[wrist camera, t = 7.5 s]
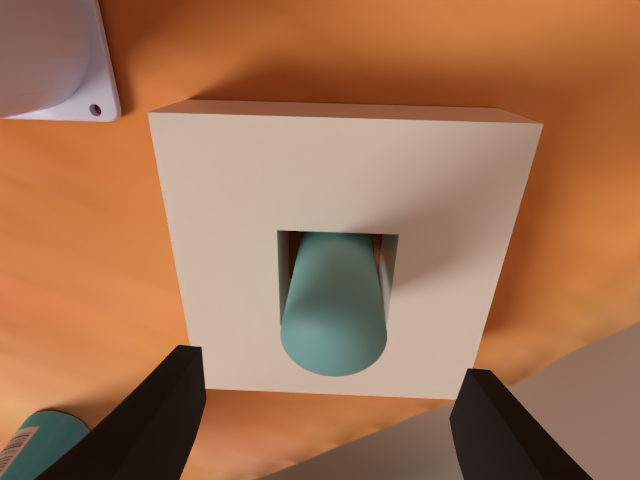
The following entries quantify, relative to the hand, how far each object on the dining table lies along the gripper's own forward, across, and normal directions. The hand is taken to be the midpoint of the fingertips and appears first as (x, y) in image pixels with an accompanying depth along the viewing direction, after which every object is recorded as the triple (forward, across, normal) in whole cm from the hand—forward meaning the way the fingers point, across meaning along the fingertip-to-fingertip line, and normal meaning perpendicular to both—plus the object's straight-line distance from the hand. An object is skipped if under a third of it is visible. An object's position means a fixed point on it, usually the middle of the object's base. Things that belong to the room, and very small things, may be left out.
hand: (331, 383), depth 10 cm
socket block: (+10, 0, +1) cm, 10 cm away
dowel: (+10, 0, +1) cm, 10 cm away
